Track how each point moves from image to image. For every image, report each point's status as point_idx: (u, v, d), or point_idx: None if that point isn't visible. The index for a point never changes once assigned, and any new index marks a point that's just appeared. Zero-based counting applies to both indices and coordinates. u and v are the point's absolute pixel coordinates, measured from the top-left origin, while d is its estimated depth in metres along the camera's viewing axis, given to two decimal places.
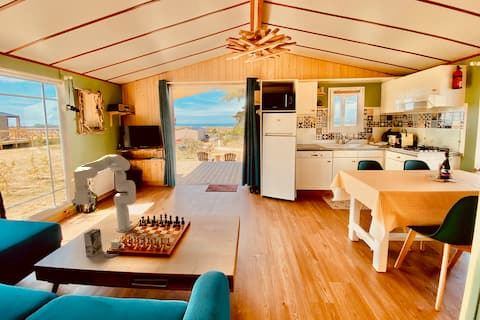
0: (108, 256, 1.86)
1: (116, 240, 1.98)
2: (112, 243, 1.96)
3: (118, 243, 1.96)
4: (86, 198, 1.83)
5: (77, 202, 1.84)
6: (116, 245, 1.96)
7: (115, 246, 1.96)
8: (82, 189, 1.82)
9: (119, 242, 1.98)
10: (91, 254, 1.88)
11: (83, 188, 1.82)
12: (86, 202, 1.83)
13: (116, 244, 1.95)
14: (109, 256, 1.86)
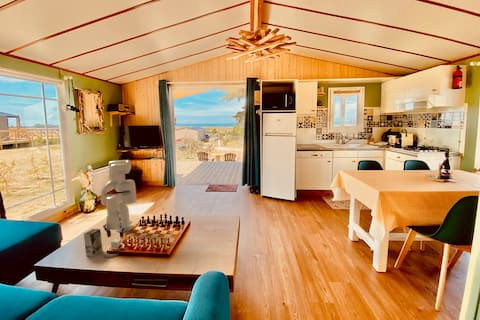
0: (108, 256, 1.86)
1: (116, 240, 1.98)
2: (112, 243, 1.96)
3: (118, 243, 1.96)
4: (117, 224, 1.93)
5: (109, 227, 1.94)
6: (116, 245, 1.96)
7: (115, 246, 1.96)
8: (114, 215, 1.92)
9: (119, 242, 1.98)
10: (91, 254, 1.88)
11: (115, 214, 1.92)
12: (117, 227, 1.93)
13: (116, 244, 1.95)
14: (109, 256, 1.86)
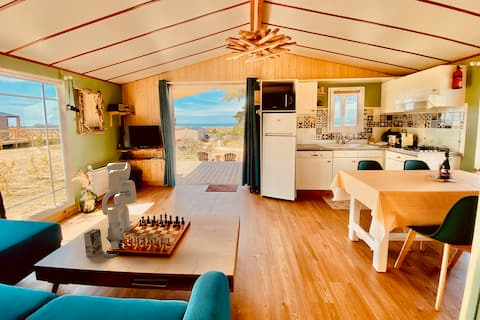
0: (108, 256, 1.86)
1: (116, 240, 1.98)
2: (112, 243, 1.96)
3: (118, 243, 1.96)
4: (119, 234, 1.94)
5: (110, 238, 1.96)
6: (116, 245, 1.95)
7: (115, 246, 1.96)
8: (115, 226, 1.93)
9: None
10: (91, 254, 1.88)
11: (116, 225, 1.93)
12: (119, 238, 1.95)
13: (116, 244, 1.95)
14: (109, 256, 1.86)
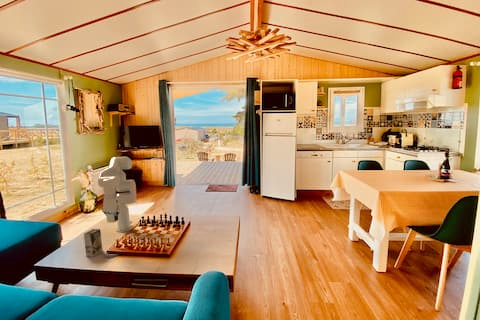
0: (108, 256, 1.86)
1: (112, 212, 1.95)
2: (107, 215, 1.93)
3: (114, 215, 1.93)
4: (114, 206, 1.91)
5: (106, 210, 1.93)
6: (112, 217, 1.92)
7: (111, 218, 1.92)
8: (111, 197, 1.90)
9: None
10: (91, 254, 1.88)
11: (112, 196, 1.90)
12: (114, 210, 1.92)
13: (112, 216, 1.92)
14: (109, 256, 1.86)
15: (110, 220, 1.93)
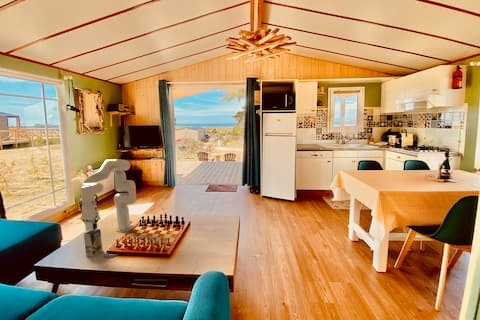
0: (108, 256, 1.86)
1: (91, 220, 1.89)
2: (86, 223, 1.87)
3: (92, 223, 1.88)
4: (93, 214, 1.86)
5: (84, 217, 1.87)
6: (90, 225, 1.87)
7: (89, 226, 1.87)
8: (89, 205, 1.85)
9: None
10: (91, 254, 1.88)
11: (90, 204, 1.85)
12: (93, 218, 1.86)
13: (90, 224, 1.87)
14: (109, 256, 1.86)
15: (88, 228, 1.87)
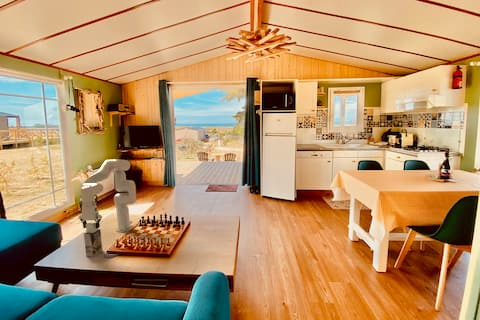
0: (108, 256, 1.86)
1: (91, 222, 1.90)
2: (86, 225, 1.88)
3: (93, 225, 1.88)
4: (93, 214, 1.86)
5: (84, 218, 1.87)
6: (91, 227, 1.87)
7: (90, 228, 1.88)
8: (89, 205, 1.85)
9: (94, 224, 1.89)
10: (91, 254, 1.88)
11: (90, 204, 1.85)
12: (93, 218, 1.86)
13: (91, 226, 1.87)
14: (109, 256, 1.86)
15: (89, 230, 1.88)
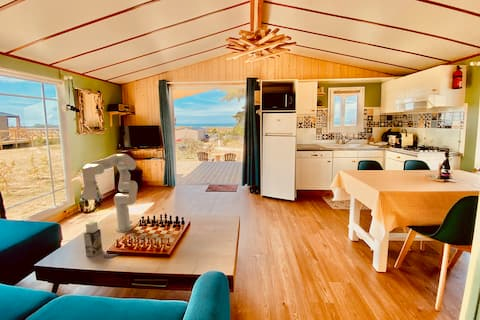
0: (108, 256, 1.86)
1: (91, 222, 1.90)
2: (86, 225, 1.88)
3: (93, 225, 1.88)
4: (94, 193, 1.94)
5: (86, 197, 1.95)
6: (91, 227, 1.87)
7: (90, 228, 1.88)
8: (90, 185, 1.92)
9: (94, 224, 1.89)
10: (91, 254, 1.88)
11: (91, 184, 1.93)
12: (95, 197, 1.94)
13: (91, 226, 1.87)
14: (109, 256, 1.86)
15: (89, 230, 1.88)
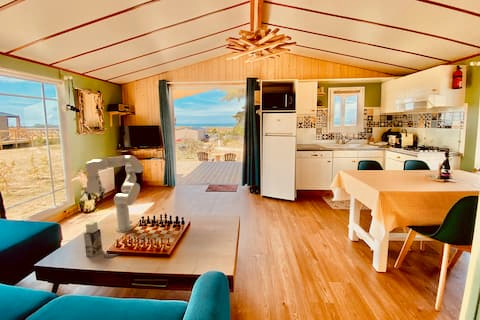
0: (108, 256, 1.86)
1: (91, 222, 1.90)
2: (86, 226, 1.88)
3: (93, 225, 1.88)
4: (97, 187, 2.03)
5: (89, 191, 2.04)
6: (91, 227, 1.87)
7: (90, 228, 1.88)
8: (93, 179, 2.01)
9: (94, 224, 1.89)
10: (91, 254, 1.88)
11: (94, 178, 2.02)
12: (97, 191, 2.03)
13: (91, 226, 1.87)
14: (109, 256, 1.86)
15: (89, 230, 1.88)
